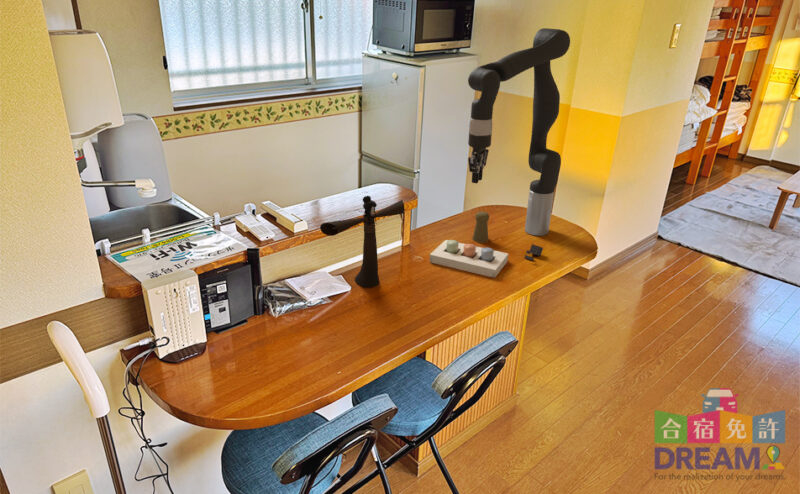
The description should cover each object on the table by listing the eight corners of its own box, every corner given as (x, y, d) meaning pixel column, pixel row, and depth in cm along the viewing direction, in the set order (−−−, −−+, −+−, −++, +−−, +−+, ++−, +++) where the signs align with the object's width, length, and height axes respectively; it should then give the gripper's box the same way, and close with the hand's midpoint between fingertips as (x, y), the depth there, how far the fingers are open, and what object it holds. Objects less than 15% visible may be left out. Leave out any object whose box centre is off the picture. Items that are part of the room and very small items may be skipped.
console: (445, 247, 204) (445, 239, 203) (507, 261, 194) (508, 253, 193) (429, 262, 193) (429, 254, 191) (494, 277, 183) (495, 269, 181)
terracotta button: (465, 253, 195) (466, 242, 193) (476, 255, 193) (477, 245, 192) (461, 257, 192) (461, 247, 190) (472, 260, 190) (473, 249, 188)
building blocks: (543, 247, 198) (534, 244, 192) (538, 262, 198) (529, 259, 192) (535, 245, 200) (526, 242, 193) (530, 259, 200) (521, 256, 194)
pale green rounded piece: (448, 249, 198) (449, 239, 196) (459, 251, 196) (460, 241, 194) (444, 253, 194) (444, 243, 193) (455, 256, 193) (455, 245, 191)
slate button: (482, 256, 192) (483, 246, 191) (494, 259, 191) (495, 249, 189) (478, 261, 189) (479, 251, 187) (490, 264, 187) (491, 253, 185)
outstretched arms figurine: (334, 303, 167) (330, 211, 154) (317, 290, 174) (312, 202, 161) (411, 272, 186) (413, 188, 173) (393, 262, 192) (394, 180, 179)
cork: (469, 237, 212) (471, 211, 207) (482, 234, 214) (484, 208, 209) (477, 243, 207) (480, 216, 202) (491, 240, 209) (493, 214, 205)
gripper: (477, 126, 189) (473, 174, 196) (461, 134, 177) (458, 185, 185) (498, 128, 185) (493, 177, 193) (483, 137, 174) (479, 189, 182)
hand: (476, 181), depth 189 cm, fingers open, 3 cm apart
